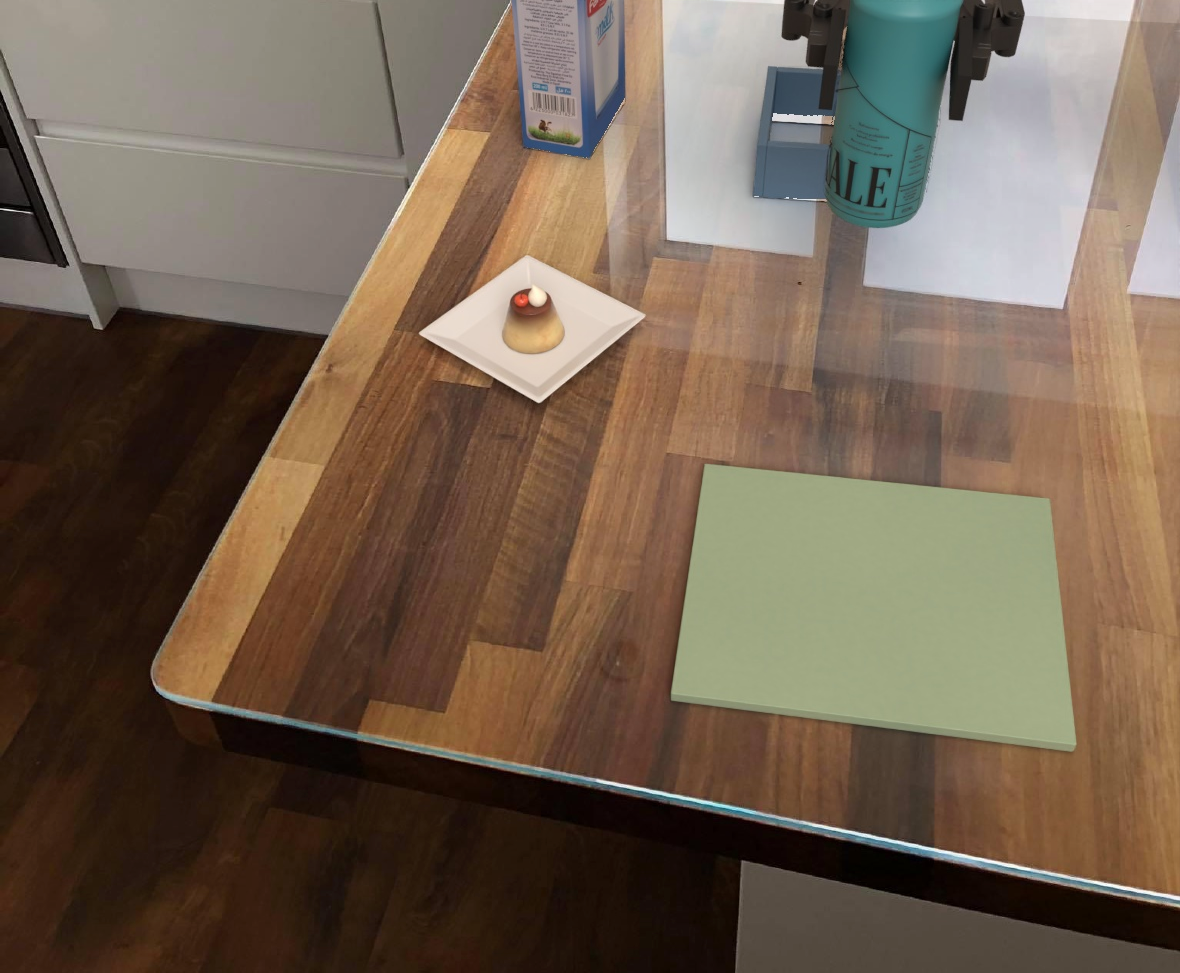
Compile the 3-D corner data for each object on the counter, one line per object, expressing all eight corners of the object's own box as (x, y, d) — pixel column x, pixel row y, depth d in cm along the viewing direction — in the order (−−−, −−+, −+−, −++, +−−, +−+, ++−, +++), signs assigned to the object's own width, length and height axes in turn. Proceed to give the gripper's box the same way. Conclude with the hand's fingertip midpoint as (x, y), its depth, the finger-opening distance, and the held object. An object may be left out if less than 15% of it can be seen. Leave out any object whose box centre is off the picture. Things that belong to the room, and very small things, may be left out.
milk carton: (562, 92, 114) (551, -132, 100) (625, 102, 113) (623, -124, 98) (523, 148, 108) (504, -81, 93) (589, 160, 107) (580, -72, 92)
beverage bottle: (920, 195, 81) (982, -118, 66) (920, 256, 77) (986, -64, 62) (821, 187, 82) (861, -123, 67) (815, 247, 78) (856, -71, 63)
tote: (906, 126, 109) (915, 74, 105) (906, 208, 100) (916, 155, 97) (763, 117, 110) (768, 65, 107) (752, 197, 102) (756, 144, 98)
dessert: (419, 344, 91) (410, 293, 87) (527, 265, 97) (523, 215, 93) (540, 414, 85) (535, 363, 82) (646, 326, 91) (647, 275, 88)
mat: (1047, 506, 78) (1050, 497, 78) (1073, 752, 66) (1077, 744, 66) (704, 471, 81) (704, 463, 81) (670, 700, 69) (670, 693, 69)
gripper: (769, -150, 81) (721, 15, 66) (1074, -135, 78) (1096, 42, 63) (761, -38, 87) (715, 137, 72) (1046, -20, 84) (1059, 168, 68)
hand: (893, 92), depth 67 cm, fingers closed on beverage bottle, 6 cm apart
